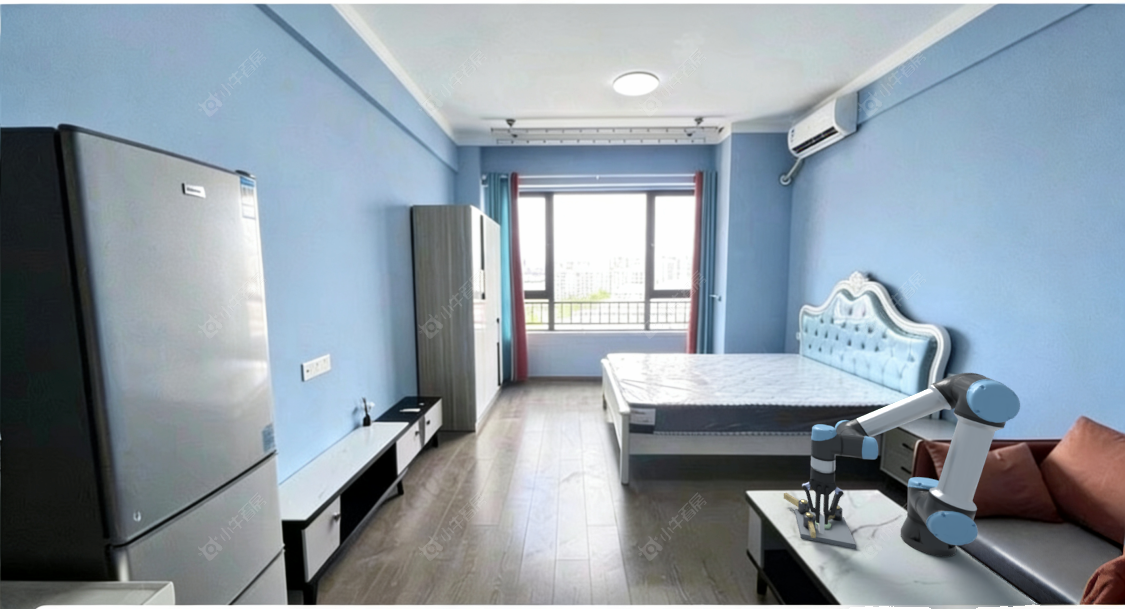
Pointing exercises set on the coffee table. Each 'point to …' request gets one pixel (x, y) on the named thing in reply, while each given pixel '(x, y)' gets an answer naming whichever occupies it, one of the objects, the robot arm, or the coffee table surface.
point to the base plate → (828, 532)
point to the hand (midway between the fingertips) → (821, 531)
